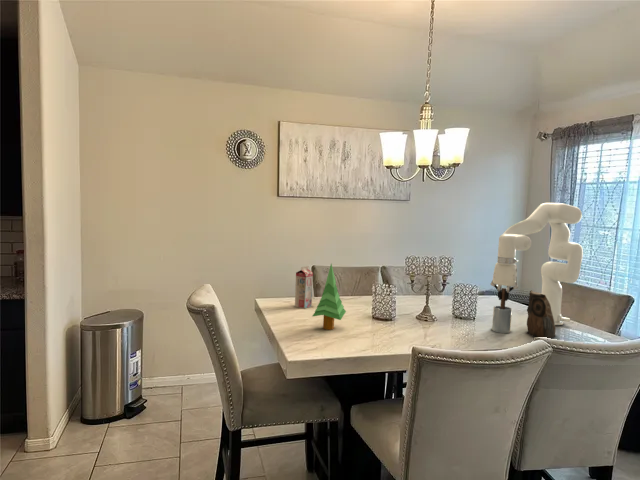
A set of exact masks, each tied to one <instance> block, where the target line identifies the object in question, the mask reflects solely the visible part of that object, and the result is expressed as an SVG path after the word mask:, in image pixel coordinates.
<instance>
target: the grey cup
mask: <svg viewBox="0 0 640 480" xmlns="http://www.w3.org/2000/svg"><path fill="white" fill-rule="evenodd" d="M492 308H493V310H492V323H491V330H492V331H493V332H495V333H501V334H510V333H511V328H512V314H513V308H511V307H509V306H505V309H500V305H494V306H493V307H492Z"/></svg>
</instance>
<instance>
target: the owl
mask: <svg viewBox="0 0 640 480" xmlns="http://www.w3.org/2000/svg"><path fill="white" fill-rule="evenodd" d="M526 312H527V319H526V328H527V331H526V334H527V335H529V336H531V337H532V338H535V337H547V338H550V339H552V338H554V337H556V325H555V323H554V318H553V314H552V311H551V306H550V303H549V301H548V299H547V298H546V296H545V295H544V294H542V292H541V293H540V292H537V291H534V290H530V291H529V296H528V305H527V308H526Z"/></svg>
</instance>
